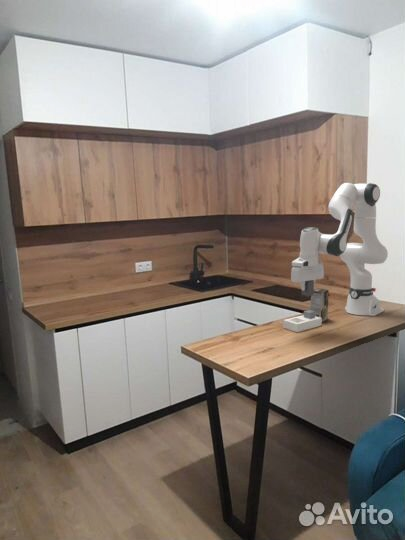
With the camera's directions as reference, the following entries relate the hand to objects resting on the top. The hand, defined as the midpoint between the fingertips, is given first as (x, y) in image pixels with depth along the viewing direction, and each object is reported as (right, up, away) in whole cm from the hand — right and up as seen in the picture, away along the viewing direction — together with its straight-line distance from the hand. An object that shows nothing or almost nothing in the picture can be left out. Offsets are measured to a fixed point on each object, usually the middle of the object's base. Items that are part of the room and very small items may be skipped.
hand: (307, 289), depth 199 cm
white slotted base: (-1, -19, +7) cm, 20 cm away
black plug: (0, -3, 0) cm, 3 cm away
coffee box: (+11, -17, +19) cm, 28 cm away
